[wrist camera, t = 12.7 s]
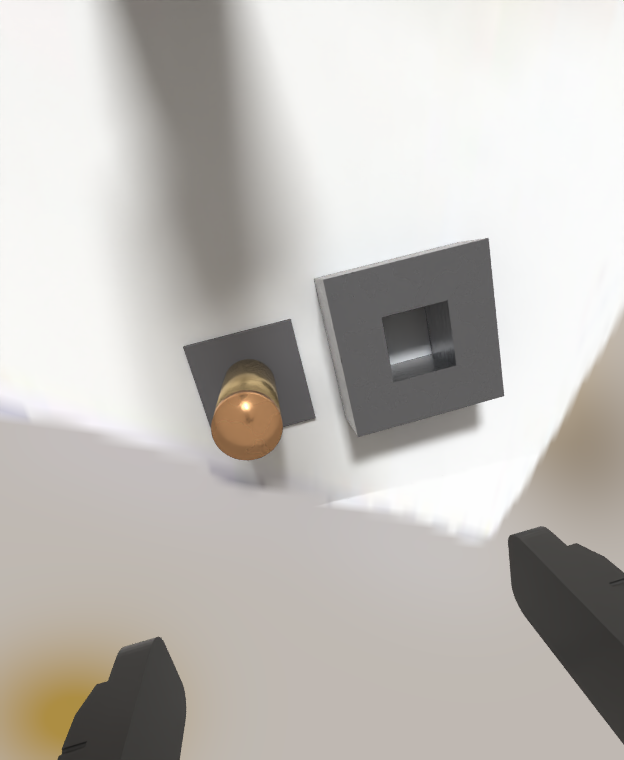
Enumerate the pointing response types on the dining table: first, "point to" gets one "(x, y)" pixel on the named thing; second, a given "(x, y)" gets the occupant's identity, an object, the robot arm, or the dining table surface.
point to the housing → (446, 330)
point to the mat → (259, 344)
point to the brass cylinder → (247, 412)
